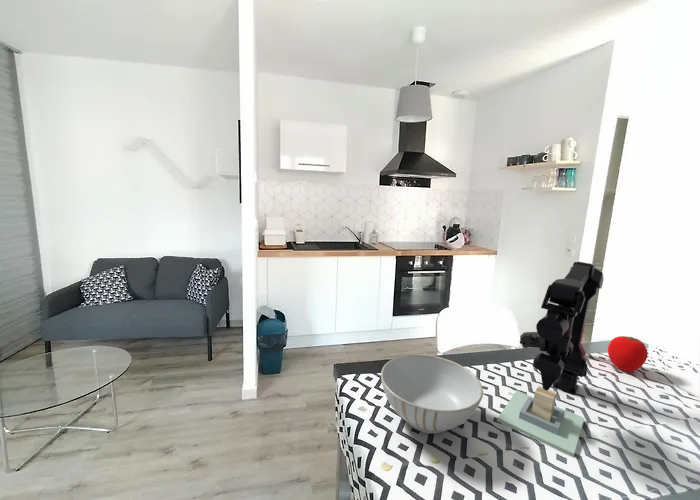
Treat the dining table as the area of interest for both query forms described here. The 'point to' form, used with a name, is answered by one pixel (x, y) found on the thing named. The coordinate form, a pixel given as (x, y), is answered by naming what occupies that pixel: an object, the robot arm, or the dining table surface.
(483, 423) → the dining table surface
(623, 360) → the tomato
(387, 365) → the decorative bowl
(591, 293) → the robot arm
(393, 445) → the dining table surface
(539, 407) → the birch peg
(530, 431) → the socket board
